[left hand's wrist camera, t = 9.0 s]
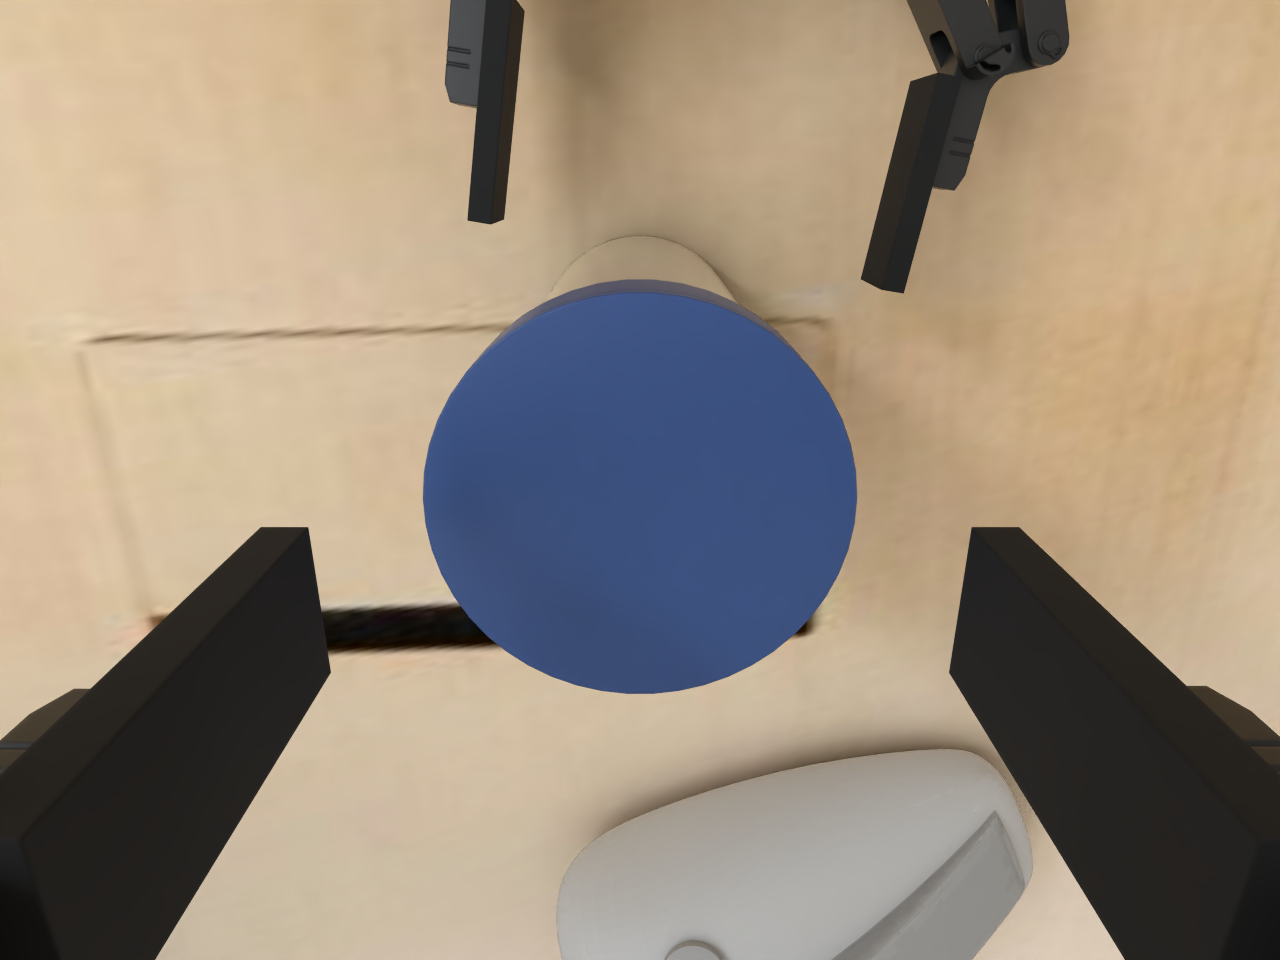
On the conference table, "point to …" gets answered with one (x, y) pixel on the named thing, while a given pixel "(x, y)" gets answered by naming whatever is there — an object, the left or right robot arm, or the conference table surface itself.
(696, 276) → the jar
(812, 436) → the lid
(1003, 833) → the projector
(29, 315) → the conference table surface
